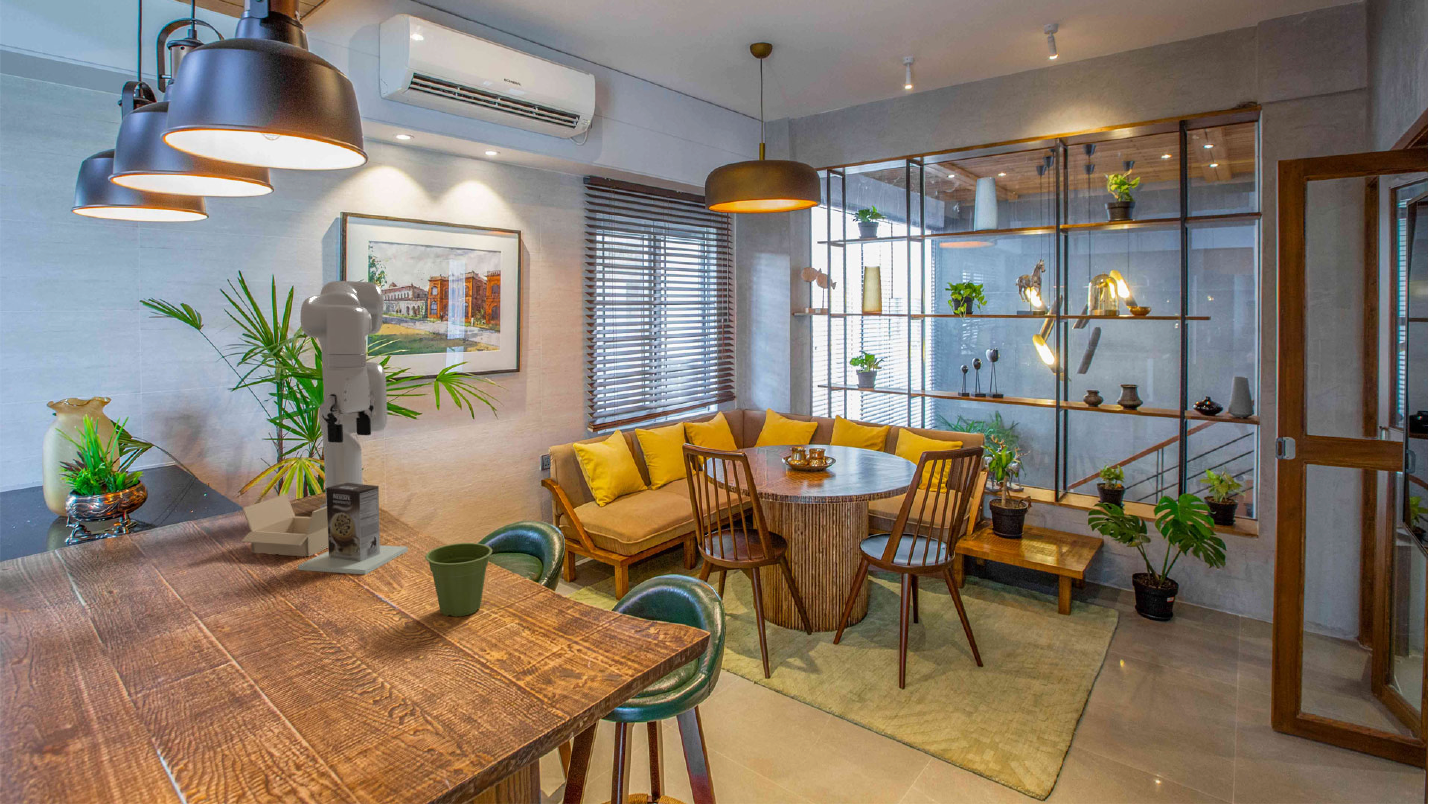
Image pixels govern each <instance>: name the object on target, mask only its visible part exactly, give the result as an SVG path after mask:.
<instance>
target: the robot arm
mask: <svg viewBox="0 0 1429 804" xmlns="http://www.w3.org/2000/svg"><path fill="white" fill-rule="evenodd" d="M384 299H385V298H384V295H383V292H382V290H381V288H380V286H379V285H378V284H376V283H375V282H371V281H353V280H352V281H351V280H333V281H329V282H328V283H326V284H325V285H324V286H322V288H321V291H320V294H317V295H312V296H310V297H307V298H306V299H304V301H303V302H302V304H301V308H300V316H299V317H300V319H299V320H300V326H301V329H302V332H303V333H304V335H306V336H307V337H310V338H313V339H317V340H318V342H319V345H320V347H321V362H322V363H321V364H322V365H321V368H322V382H323V402H322V403H321V404H320V406H319V409H318V421H319V426H320V430H321V435H322V436H321V437H322V445H323V458H324V459H323V462H324V483H325V484H324V485H325V487H324V488H325V490H326V488H328V487H331V486H334V485H339V484H344V483H354V484H363V462H362V447H361V445H360V443H359V442H358V441H357V440H356V439H355V438H354V437H353V436H352V435H351V434H355V433H356V434H357V436H371V435H372V432H379V431H380V432H381V431H382V430H384V429H385V428H386V427H387V424H388V423H387V422H388V401H387V398H388V397H387V395H388V394H387V378H386V373H385V369H384V367H383V366H382V365H381V364H380V363H378V362H372V361H371V362H367V349H366V347H367V346H366V345H367V344H366V343H367V342H366V337H367V336H368V335H370V336H371V335H375V334H377V333H379V332H380V331H381V328H382V324H383V314H384V307H385V303H384V302H385V301H384ZM324 507H327V496H326V495H325V502H324V503H323V504H321V505H320V507H319V509H321V508H324Z"/></svg>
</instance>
